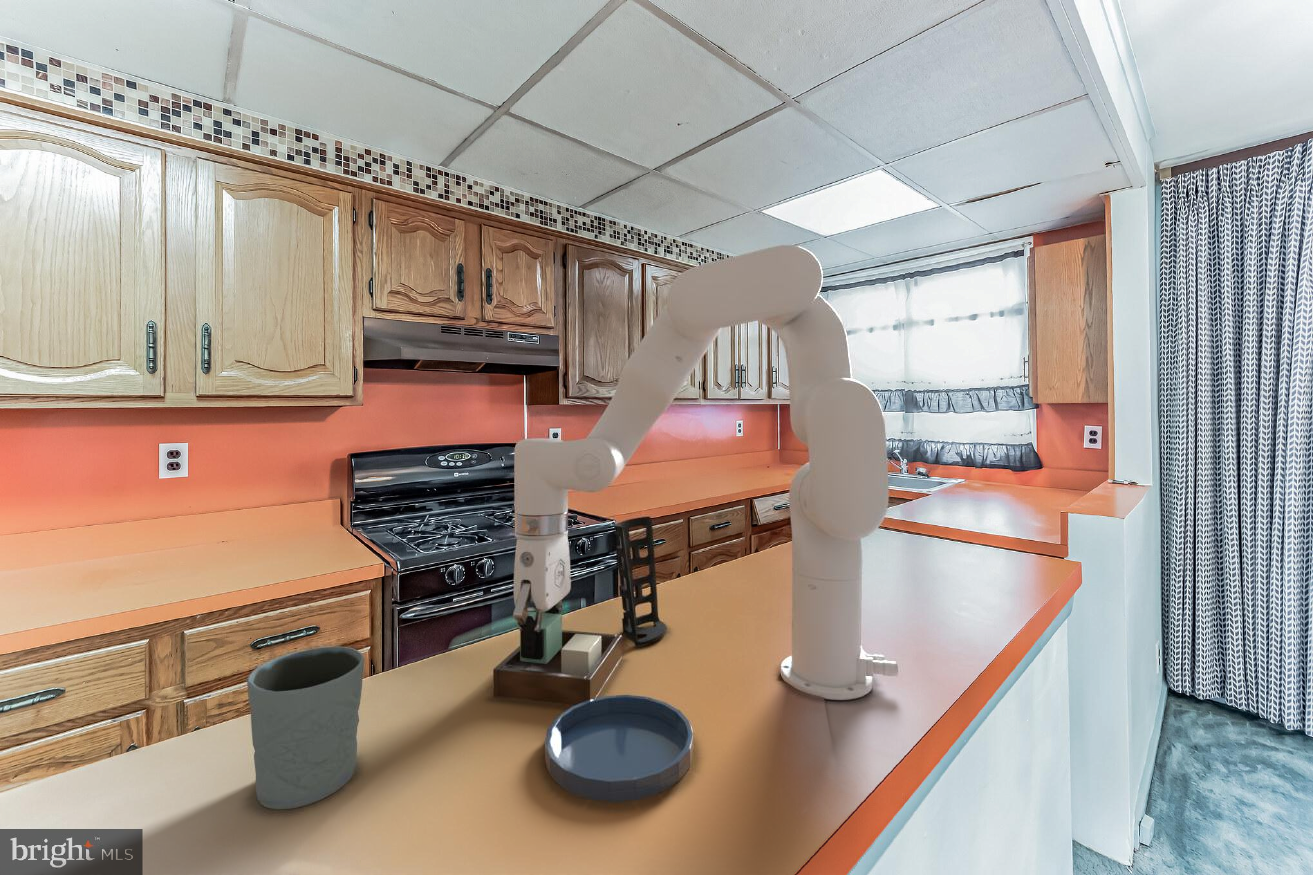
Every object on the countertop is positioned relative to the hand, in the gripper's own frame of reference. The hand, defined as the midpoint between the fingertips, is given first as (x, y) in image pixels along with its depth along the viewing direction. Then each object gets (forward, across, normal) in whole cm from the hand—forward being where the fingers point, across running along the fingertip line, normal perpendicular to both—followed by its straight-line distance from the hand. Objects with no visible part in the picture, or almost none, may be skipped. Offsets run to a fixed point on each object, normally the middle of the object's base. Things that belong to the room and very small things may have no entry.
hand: (541, 647), depth 78 cm
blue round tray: (+4, -15, -16) cm, 22 cm away
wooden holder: (+4, 0, -3) cm, 5 cm away
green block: (+1, 0, 0) cm, 1 cm away
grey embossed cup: (+5, -26, +14) cm, 30 cm away
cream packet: (+4, 0, -6) cm, 7 cm away
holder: (+5, +18, -10) cm, 21 cm away
